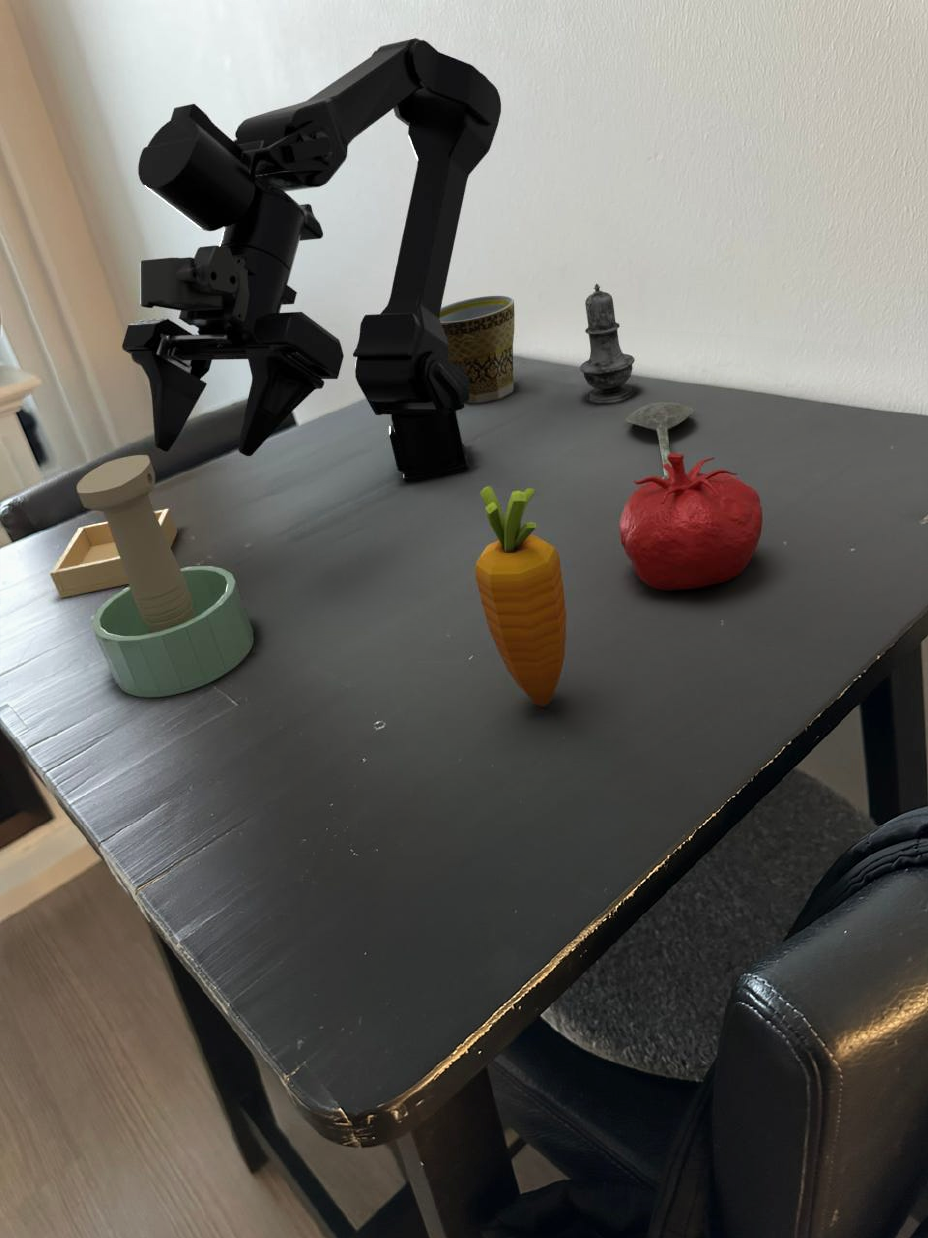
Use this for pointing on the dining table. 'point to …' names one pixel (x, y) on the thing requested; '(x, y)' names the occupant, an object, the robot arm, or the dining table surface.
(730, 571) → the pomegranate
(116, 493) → the handle
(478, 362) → the ceramic cup
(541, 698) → the carrot
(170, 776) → the dining table surface
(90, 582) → the tray
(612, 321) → the salt shaker
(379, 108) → the robot arm
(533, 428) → the dining table surface
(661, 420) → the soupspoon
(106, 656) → the green bowl
